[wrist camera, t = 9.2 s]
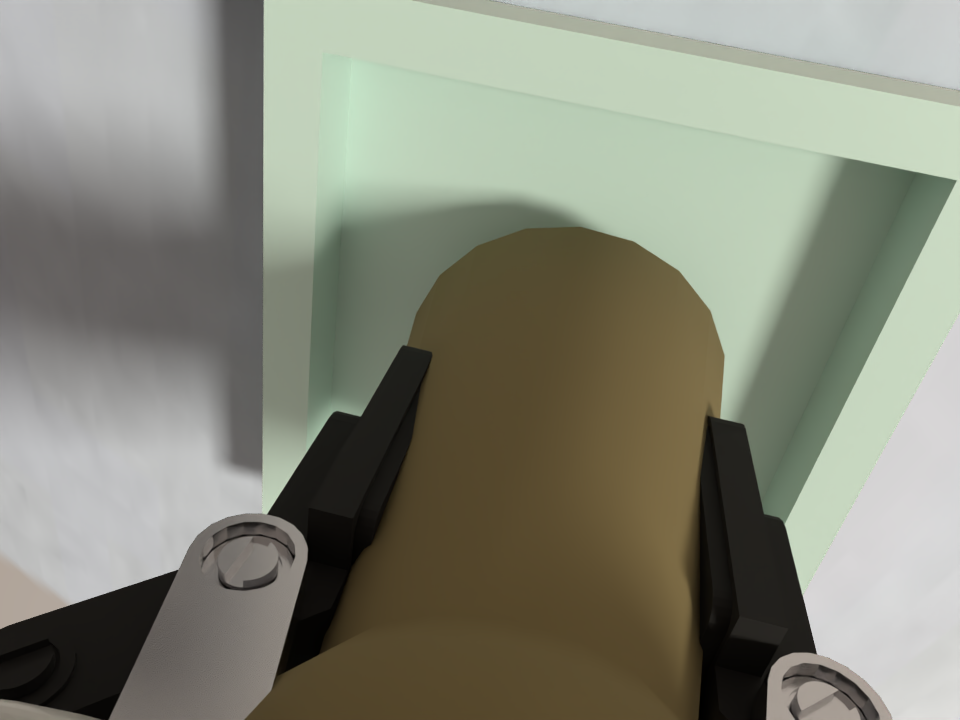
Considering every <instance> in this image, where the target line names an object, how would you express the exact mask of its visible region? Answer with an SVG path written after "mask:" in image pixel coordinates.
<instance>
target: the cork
mask: <svg viewBox="0 0 960 720" xmlns="http://www.w3.org/2000/svg"><path fill="white" fill-rule="evenodd" d="M407 346H410V347H414V348H418V349H423V350H427V351H430V352H432V355H433V356H432V359H431V361H430V364H429V366H428V369H427V371H426V374H425V376H424V379H423V381H422V383H421V388H420V394H419V400H418V406H417V412H416V418H415V424H414V429H413V435H412V440H411V442H410V445H409V448H408V450H407V453H406V455H405V458H404V461H403V463H402V466H401V468H400V471H399V474H398V476H397V479H396V481H395V484H394V487H393V489H392V492H391V494H390V497H389V500H388V502H387V505H386V508H385V510H384V513H383V515H382V518H381V521H380V523H379V526H378V528H377V531H376V534H375V536H374V539H373V541H372V544H371V545H370V546H368V547H366V548H365V549H364V550H363V551H362V552H361V554H360V555H359V557H358V558H357V559H356V561H355V562H354V563H353V565H352V566H351V569H350V572H349V575H348V577H347V580H346V583H345V586H344V588H343V591H342V594H341V597H340V599H339V602H338V605H337V608H336V610H335V613H334V616H333V619H332V621H331V624H330V627H329V628H328V630H327V632H326V633H325V635H324V639H323V642H322V646H321V649H320V653H319V655H318V656H316V657H314V658H312V659H310V660H308V661H306V662H304V663H302V664H300V665H298V666H296V667H295V668H293V669H291V670H289V671H287V672H285V673H283V674H281V675H279V676H278V677H277V679H276V681H275V683H274V686H273V688H272V690H271V691H270V692H269V694H268V695H267V696H266V697H265V698H264V699H263V700H262V701H261V702H260V703H259V704H258V705H257V706H256V708H255V709H254V710H253V711H252V712H251V713H250V714H249V715H248V716H247V717H246V718H245V719H244V720H698V715H699V701H700V687H701V673H702V658H703V650H702V647H701V645H700V474H701V467H702V459H703V452H704V445H705V438H706V430H707V426H708V416H711V417H716V418H720V415H721V402H722V387H723V373H724V359H725V355H724V352H723V349H722V345H721V342H720V339H719V336H718V333H717V330H716V326H715V323H714V320H713V317H712V314H711V311H710V309H709V308H708V307H707V306H706V304H705V303H704V302H703V301H702V299H701V298H700V297H699V295H698V294H697V293H696V292H695V290H694V289H693V288H692V287H691V285H690V284H689V283H688V281H687V280H686V279H685V278H684V276H683V275H682V274H681V272H680V271H679V270H677V269H676V268H674V267H673V266H671V265H669V264H668V263H666V262H665V261H663V260H662V259H660V258H659V257H657V256H656V255H654V254H653V253H651V252H649V251H648V250H646V249H645V248H643V247H642V246H640V245H639V244H637V243H636V242H634V241H631V240H627V239H623V238H620V237H616V236H612V235H609V234H605V233H602V232H598V231H594V230H591V229H587V228H583V227H556V228H526V229H523V230H520V231H517V232H514V233H512V234H509V235H506V236H503V237H500V238H497V239H495V240H492V241H489V242H486V243H483V244H480V245H478V246H476V247H475V248H474V249H472V250H471V251H470V252H468V253H467V254H466V255H465V256H463V257H462V258H461V259H460V260H458V261H457V262H456V263H454V264H453V265H452V266H451V267H449V268H448V269H447V270H446V271H444V272H443V273H442V274H440V275H439V277H438V279H437V280H436V282H435V283H434V285H433V287H432V288H431V290H430V291H429V293H428V295H427V296H426V298H425V300H424V301H423V303H422V304H421V306H420V308H419V309H418V311H417V313H416V316H415V319H414V323H413V326H412V330H411V333H410V337H409V340H408V344H407Z"/></svg>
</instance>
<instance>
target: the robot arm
mask: <svg viewBox="0 0 960 720" xmlns="http://www.w3.org/2000/svg"><path fill="white" fill-rule="evenodd" d="M432 356H433V355H432V352H430V351H427V350H423V349H418V348H414V347H410V346H405V345H402V347H401V348H400V350H399V351H398V353H397V355H396V357H395V358H394V360H393V362H392V363H391V365H390V367H389V369H388V370H387V372H386V374H385V376H384V377H383V379H382V381H381V383H380V384H379V386H378V388H377V389H376V391H375V393H374V395H373V396H372V398H371V400H370V402H369V403H368V405H367V407H366V409H365V410H364V412H363V414H362V415H361V416H356V415H352V414H348V413H344V412H340V411H335V412H333V413H332V415H331V416H330V417H329V418H328V420H327V421H326V423H325V425H324V426H323V428H322V429H321V431H320V432H319V434H318V435H317V437H316V439H315V440H314V442H313V443H312V445H311V446H310V448H309V449H308V451H307V453H306V454H305V456H304V457H303V459H302V460H301V462H300V464H299V465H298V467H297V468H296V470H295V471H294V473H293V474H292V476H291V478H290V479H289V481H288V482H287V484H286V485H285V487H284V488H283V490H282V492H281V493H280V495H279V496H278V498H277V499H276V501H275V502H274V504H273V506H272V507H271V509H270V510H269V512H268V513H267V514H241V515H236V516H231V517H227V518H225V519H222V520H220V521H218V522H216V523H213V524H211V525H210V526H209V527H207V528H206V529H205V530H204V531H202V532H201V533H200V534H198V536H197V537H196V538H195V540H194V541H193V543H192V544H191V546H190V547H189V549H188V551H187V553H186V555H185V557H184V559H183V562H182V564H181V566H180V568H179V570H176V571H173V572H170V573H167V574H164V575H161V576H158V577H155V578H152V579H149V580H146V581H143V582H140V583H137V584H133V585H130V586H127V587H124V588H121V589H118V590H115V591H112V592H109V593H106V594H103V595H100V596H97V597H94V598H91V599H88V600H85V601H82V602H79V603H76V604H73V605H70V606H66V607H63V608H60V609H57V610H54V611H51V612H48V613H45V614H42V615H39V616H36V617H33V618H30V619H27V620H24V621H21V622H18V623H15V624H12V625H9V626H7V627H4V628H2V629H0V720H244V719H245V718H246V717H247V716H248V715H249V714H250V713H251V712H252V711H253V710H254V709H255V708H256V706H257V705H258V704H259V703H260V702H261V701H262V700H263V699H264V698H265V697H266V696H267V695H268V694H269V692H270V691H271V690H272V688H273V686H274V683H275V681H276V679H277V677H278V676H279V675H281V674H283V673H285V672H287V671H289V670H291V669H293V668H295V667H296V666H298V665H300V664H302V663H304V662H306V661H308V660H310V659H312V658H314V657H316V656H318V655H319V653H320V649H321V646H322V642H323V639H324V635H325V633H326V632H327V630H328V628H329V627H330V624H331V621H332V619H333V616H334V613H335V610H336V608H337V605H338V602H339V599H340V597H341V594H342V591H343V588H344V586H345V583H346V580H347V577H348V575H349V572H350V569H351V566H352V565H353V563H354V562H355V561H356V559H357V558H358V557H359V555H360V554H361V552H362V551H363V550H364V549H365V548H366V547H368V546H370V545H371V544H372V541H373V539H374V536H375V534H376V531H377V528H378V526H379V523H380V521H381V518H382V515H383V513H384V510H385V508H386V505H387V502H388V500H389V497H390V494H391V492H392V489H393V487H394V484H395V481H396V479H397V476H398V474H399V471H400V468H401V466H402V463H403V461H404V458H405V455H406V453H407V450H408V448H409V445H410V442H411V440H412V435H413V429H414V424H415V418H416V412H417V406H418V400H419V394H420V388H421V383H422V381H423V379H424V376H425V374H426V371H427V369H428V366H429V364H430V361H431V359H432ZM700 645H701V647H702V650H703V658H702V673H701V687H700V701H699V715H698V720H892V716H891V714H890V712H889V710H888V709H887V707H886V706H885V704H884V702H883V701H882V699H881V697H880V696H879V695H878V694H877V693H876V692H875V691H874V690H873V689H872V687H871V686H870V685H869V684H868V683H867V682H866V681H865V680H864V679H862V678H861V677H860V676H858V675H857V674H856V673H854V672H853V671H852V670H850V669H849V668H848V667H846V666H844V665H842V664H840V663H838V662H836V661H834V660H832V659H830V658H828V657H824V656H820V655H817V653H816V648H815V644H814V640H813V636H812V632H811V628H810V624H809V620H808V616H807V612H806V608H805V604H804V600H803V596H802V591H801V587H800V583H799V579H798V575H797V571H796V567H795V563H794V559H793V555H792V551H791V547H790V543H789V539H788V534H787V530H786V527H785V525H784V522H783V521H782V520H781V519H780V518H779V517H775V516H771V515H767V514H764V512H763V507H762V502H761V497H760V493H759V488H758V483H757V479H756V474H755V469H754V465H753V460H752V455H751V451H750V446H749V441H748V437H747V432H746V428H745V425H744V424H741V423H737V422H733V421H728V420H724V419H720V418H716V417H711V416H708V426H707V430H706V438H705V445H704V452H703V459H702V467H701V474H700Z"/></svg>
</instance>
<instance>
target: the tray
mask: <svg viewBox="0 0 960 720" xmlns="http://www.w3.org/2000/svg"><path fill="white" fill-rule="evenodd" d="M556 227H583V228H587V229H591V230H594V231H598V232H602V233H605V234H609V235H612V236H616V237H620V238H623V239H627V240H631V241H634V242H636V243H637V244H639V245H640V246H642V247H643V248H645V249H646V250H648V251H649V252H651V253H653V254H654V255H656V256H657V257H659V258H660V259H662V260H663V261H665V262H666V263H668V264H669V265H671V266H673V267H674V268H676V269H677V270H679V271H680V272H681V274H682V275H683V276H684V278H685V279H686V280H687V281H688V283H689V284H690V285H691V287H692V288H693V289H694V290H695V292H696V293H697V294H698V295H699V297H700V298H701V299H702V301H703V302H704V303H705V304H706V306H707V307H708V308H709V309H710V311H711V314H712V317H713V320H714V323H715V326H716V330H717V333H718V336H719V339H720V342H721V345H722V349H723V352H724V355H725V359H724V373H723V387H722V402H721V415H720V419H724V420H728V421H733V422H737V423H741V424H744V425H745V428H746V432H747V437H748V441H749V446H750V451H751V455H752V460H753V465H754V469H755V474H756V479H757V483H758V488H759V493H760V497H761V502H762V507H763V512H764V514H767V515H771V516H775V517H779V518H780V519H781V520H782V521H783V522H784V525H785V527H786V530H787V534H788V539H789V543H790V547H791V551H792V555H793V559H794V563H795V567H796V571H797V575H798V579H799V583H800V587H801V591H802V596H803V594H804V592H805V590H806V588H807V587H808V585H809V583H810V581H811V579H812V578H813V576H814V574H815V572H816V570H817V569H818V567H819V565H820V563H821V561H822V560H823V558H824V556H825V554H826V552H827V551H828V549H829V547H830V545H831V543H832V542H833V540H834V538H835V536H836V534H837V533H838V531H839V529H840V527H841V525H842V524H843V522H844V520H845V518H846V516H847V515H848V513H849V511H850V509H851V507H852V506H853V504H854V502H855V500H856V498H857V497H858V495H859V493H860V491H861V489H862V488H863V486H864V484H865V482H866V480H867V479H868V477H869V475H870V473H871V471H872V470H873V468H874V466H875V464H876V462H877V461H878V459H879V457H880V455H881V453H882V452H883V450H884V448H885V446H886V444H887V443H888V441H889V439H890V437H891V435H892V434H893V432H894V430H895V428H896V426H897V425H898V423H899V421H900V419H901V417H902V416H903V414H904V412H905V410H906V408H907V407H908V405H909V403H910V401H911V399H912V398H913V396H914V394H915V392H916V390H917V389H918V387H919V385H920V383H921V381H922V380H923V378H924V376H925V374H926V372H927V371H928V369H929V367H930V365H931V363H932V362H933V360H934V358H935V356H936V354H937V353H938V351H939V349H940V347H941V345H942V344H943V342H944V340H945V338H946V336H947V335H948V333H949V331H950V329H951V327H952V326H953V324H954V322H955V320H956V318H957V317H958V315H959V313H960V91H958V90H953V89H948V88H943V87H937V86H932V85H927V84H922V83H917V82H911V81H906V80H901V79H896V78H891V77H885V76H880V75H875V74H870V73H865V72H859V71H854V70H849V69H844V68H839V67H833V66H828V65H823V64H818V63H813V62H807V61H802V60H797V59H792V58H787V57H781V56H776V55H771V54H766V53H761V52H755V51H750V50H745V49H740V48H735V47H729V46H724V45H719V44H714V43H709V42H703V41H698V40H693V39H688V38H683V37H677V36H672V35H667V34H662V33H657V32H651V31H646V30H641V29H636V28H631V27H625V26H620V25H615V24H610V23H604V22H599V21H594V20H589V19H584V18H578V17H573V16H568V15H563V14H558V13H552V12H547V11H542V10H537V9H532V8H526V7H521V6H516V5H511V4H506V3H500V2H495V1H490V0H264V109H263V466H262V514H267V513H268V512H269V510H270V509H271V507H272V506H273V504H274V502H275V501H276V499H277V498H278V496H279V495H280V493H281V492H282V490H283V488H284V487H285V485H286V484H287V482H288V481H289V479H290V478H291V476H292V474H293V473H294V471H295V470H296V468H297V467H298V465H299V464H300V462H301V460H302V459H303V457H304V456H305V454H306V453H307V451H308V449H309V448H310V446H311V445H312V443H313V442H314V440H315V439H316V437H317V435H318V434H319V432H320V431H321V429H322V428H323V426H324V425H325V423H326V421H327V420H328V418H329V417H330V416H331V415H332V413H333V412H335V411H340V412H344V413H348V414H352V415H356V416H361V415H362V414H363V412H364V410H365V409H366V407H367V405H368V403H369V402H370V400H371V398H372V396H373V395H374V393H375V391H376V389H377V388H378V386H379V384H380V383H381V381H382V379H383V377H384V376H385V374H386V372H387V370H388V369H389V367H390V365H391V363H392V362H393V360H394V358H395V357H396V355H397V353H398V351H399V350H400V348H401V347H402V345H405V346H407V344H408V340H409V337H410V333H411V330H412V326H413V323H414V319H415V316H416V313H417V311H418V309H419V308H420V306H421V304H422V303H423V301H424V300H425V298H426V296H427V295H428V293H429V291H430V290H431V288H432V287H433V285H434V283H435V282H436V280H437V279H438V277H439V275H440V274H442V273H443V272H444V271H446V270H447V269H448V268H449V267H451V266H452V265H453V264H454V263H456V262H457V261H458V260H460V259H461V258H462V257H463V256H465V255H466V254H467V253H468V252H470V251H471V250H472V249H474V248H475V247H476V246H478V245H480V244H483V243H486V242H489V241H492V240H495V239H497V238H500V237H503V236H506V235H509V234H512V233H514V232H517V231H520V230H523V229H526V228H556Z"/></svg>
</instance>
